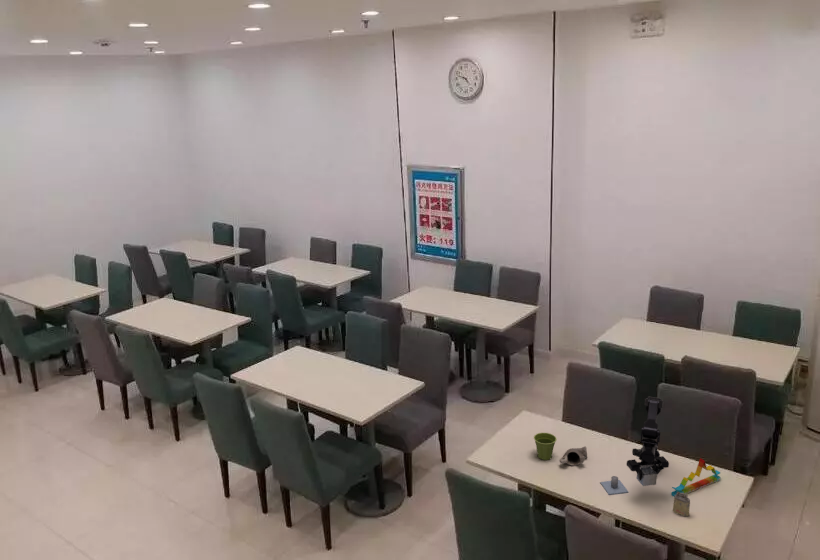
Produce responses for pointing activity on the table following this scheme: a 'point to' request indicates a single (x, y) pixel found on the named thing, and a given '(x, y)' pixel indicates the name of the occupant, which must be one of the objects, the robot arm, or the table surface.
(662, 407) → the robot arm
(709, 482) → the multicoloured triangular frame
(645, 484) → the collar
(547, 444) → the plant pot
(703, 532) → the table surface
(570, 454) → the animal shaped planter
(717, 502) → the table surface
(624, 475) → the table surface
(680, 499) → the old metal can
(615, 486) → the grey peg stand
